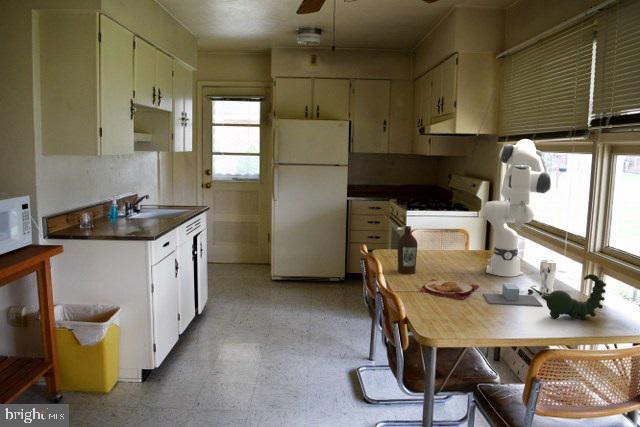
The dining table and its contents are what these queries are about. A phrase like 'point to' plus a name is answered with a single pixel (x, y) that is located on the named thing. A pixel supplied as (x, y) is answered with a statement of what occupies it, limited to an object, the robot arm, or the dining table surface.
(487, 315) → the dining table surface
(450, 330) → the dining table surface
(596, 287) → the toy figurine
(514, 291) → the slate block
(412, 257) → the brown bottle
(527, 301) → the charcoal mat
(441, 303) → the dining table surface
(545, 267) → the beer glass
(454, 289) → the plate with food
